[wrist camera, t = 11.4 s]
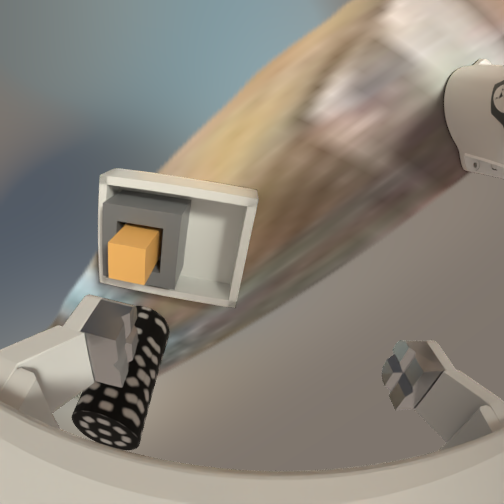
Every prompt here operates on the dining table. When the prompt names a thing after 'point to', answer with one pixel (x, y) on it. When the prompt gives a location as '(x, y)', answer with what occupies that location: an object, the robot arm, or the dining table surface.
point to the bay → (204, 233)
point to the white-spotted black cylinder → (125, 390)
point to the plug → (134, 253)
